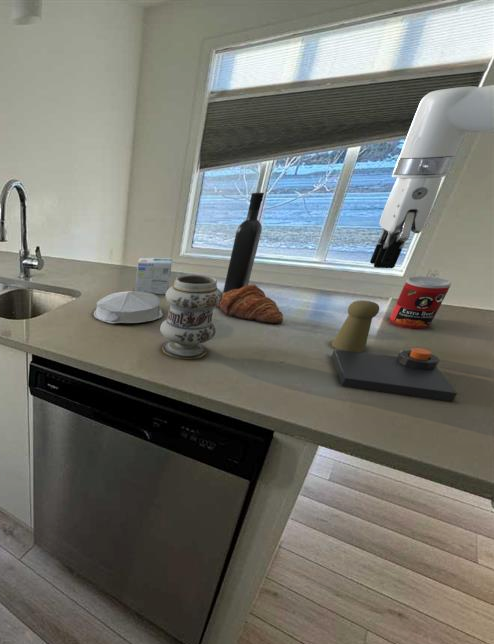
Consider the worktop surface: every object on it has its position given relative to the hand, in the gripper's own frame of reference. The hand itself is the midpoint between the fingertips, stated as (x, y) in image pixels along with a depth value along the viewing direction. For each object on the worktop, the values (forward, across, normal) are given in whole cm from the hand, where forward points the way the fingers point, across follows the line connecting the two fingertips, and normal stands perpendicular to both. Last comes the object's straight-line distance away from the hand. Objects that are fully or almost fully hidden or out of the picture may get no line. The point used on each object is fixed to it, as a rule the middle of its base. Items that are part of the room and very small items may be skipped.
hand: (381, 264), depth 85 cm
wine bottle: (+19, +34, +24) cm, 46 cm away
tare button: (+16, -10, -9) cm, 21 cm away
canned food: (+19, +20, -15) cm, 32 cm away
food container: (+19, +7, +52) cm, 56 cm away
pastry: (+19, +17, +21) cm, 33 cm away
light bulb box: (+19, +31, +49) cm, 61 cm away
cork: (+19, 0, 0) cm, 19 cm away
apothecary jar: (+19, -14, +34) cm, 42 cm away
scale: (+19, -14, -4) cm, 24 cm away
